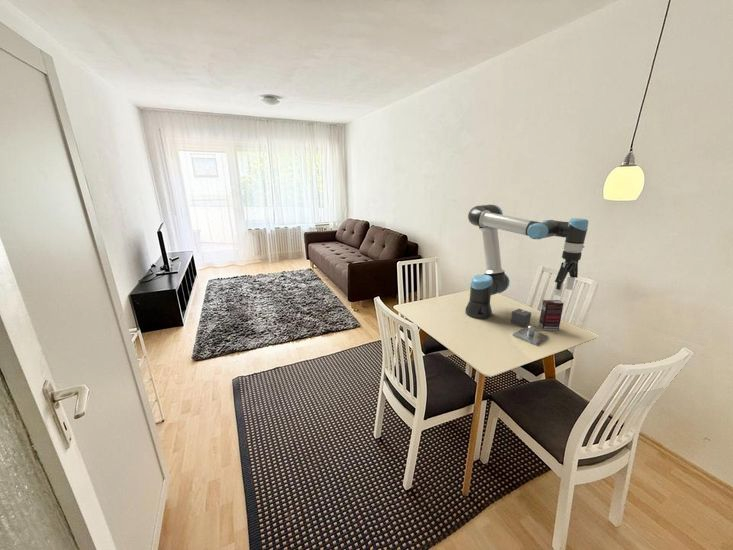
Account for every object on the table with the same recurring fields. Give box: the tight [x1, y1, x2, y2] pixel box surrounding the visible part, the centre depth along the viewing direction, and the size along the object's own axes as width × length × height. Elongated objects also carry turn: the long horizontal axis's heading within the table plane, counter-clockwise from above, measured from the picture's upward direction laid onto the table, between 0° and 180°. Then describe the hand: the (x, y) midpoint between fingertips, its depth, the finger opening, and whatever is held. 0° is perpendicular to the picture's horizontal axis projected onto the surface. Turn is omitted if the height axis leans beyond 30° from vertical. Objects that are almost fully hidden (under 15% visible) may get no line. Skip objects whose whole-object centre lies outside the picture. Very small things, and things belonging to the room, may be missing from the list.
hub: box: [512, 324, 549, 346], centre depth 151 cm, size 12×12×6 cm
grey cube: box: [510, 308, 532, 328], centre depth 165 cm, size 7×7×7 cm
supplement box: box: [538, 299, 564, 331], centre depth 158 cm, size 9×5×16 cm, turn 84°
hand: (563, 292), depth 149 cm, fingers open, 13 cm apart
